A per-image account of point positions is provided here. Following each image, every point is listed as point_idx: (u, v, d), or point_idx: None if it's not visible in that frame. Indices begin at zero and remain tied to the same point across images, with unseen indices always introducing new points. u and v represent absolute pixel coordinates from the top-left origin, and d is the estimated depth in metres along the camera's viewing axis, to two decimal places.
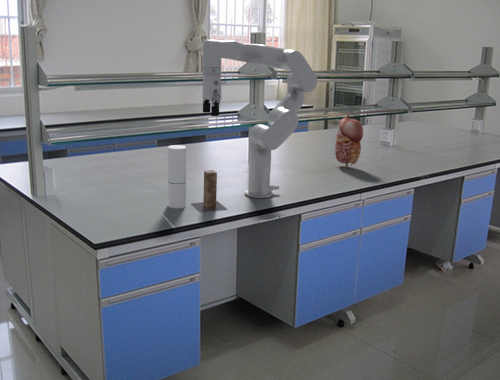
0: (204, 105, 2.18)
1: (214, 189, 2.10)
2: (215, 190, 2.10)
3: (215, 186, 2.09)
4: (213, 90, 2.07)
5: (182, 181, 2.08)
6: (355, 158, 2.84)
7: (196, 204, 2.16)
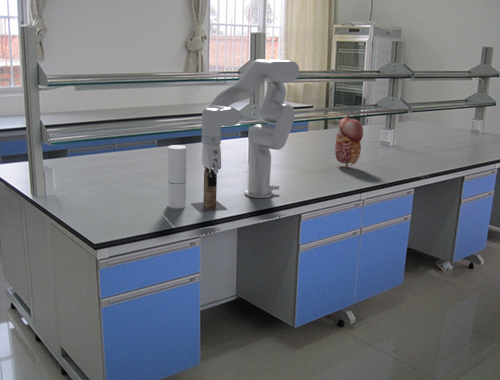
0: None
1: (214, 189, 2.10)
2: (215, 190, 2.10)
3: (215, 186, 2.09)
4: (213, 160, 2.03)
5: (182, 181, 2.08)
6: (355, 158, 2.84)
7: (196, 204, 2.16)
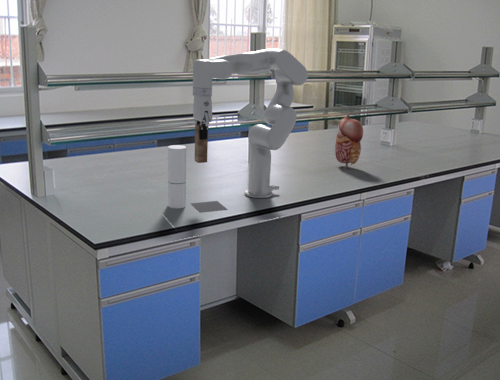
0: None
1: (205, 142, 2.09)
2: (206, 143, 2.09)
3: (206, 139, 2.09)
4: (203, 111, 2.02)
5: (182, 181, 2.08)
6: (355, 158, 2.84)
7: (196, 204, 2.16)
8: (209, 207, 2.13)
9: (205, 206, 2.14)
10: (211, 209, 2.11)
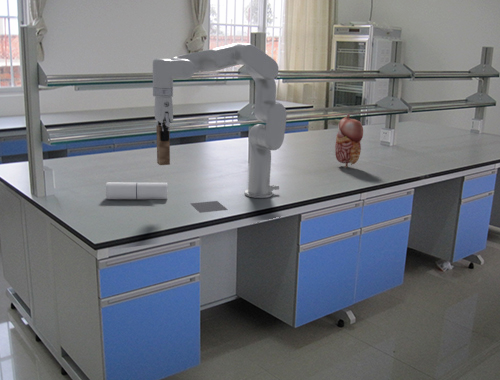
0: None
1: (167, 144, 2.02)
2: (168, 145, 2.03)
3: (168, 141, 2.02)
4: (164, 112, 1.95)
5: None
6: (355, 158, 2.84)
7: (196, 204, 2.16)
8: (209, 207, 2.13)
9: (205, 206, 2.14)
10: (211, 209, 2.11)
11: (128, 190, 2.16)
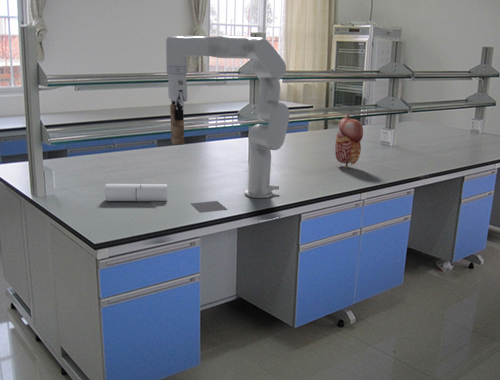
0: None
1: (181, 123, 2.01)
2: (182, 124, 2.01)
3: (182, 120, 2.00)
4: (178, 90, 1.93)
5: None
6: (355, 158, 2.84)
7: (196, 204, 2.16)
8: (209, 207, 2.13)
9: (205, 206, 2.14)
10: (211, 209, 2.11)
11: (127, 197, 2.15)
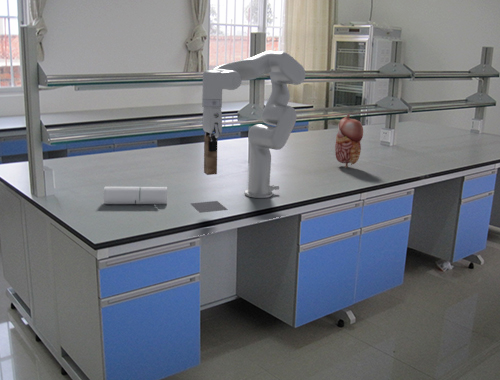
0: None
1: (215, 154, 2.05)
2: (216, 155, 2.06)
3: (216, 151, 2.05)
4: (213, 123, 1.98)
5: None
6: (355, 158, 2.84)
7: (196, 204, 2.16)
8: (209, 207, 2.13)
9: (205, 206, 2.14)
10: (211, 209, 2.11)
11: None
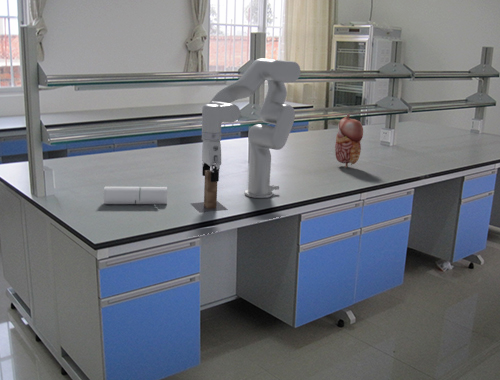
0: (204, 168, 2.12)
1: (214, 189, 2.10)
2: (216, 190, 2.10)
3: (216, 186, 2.10)
4: (213, 156, 2.02)
5: None
6: (355, 158, 2.84)
7: (196, 204, 2.16)
8: None
9: None
10: (211, 209, 2.11)
11: None
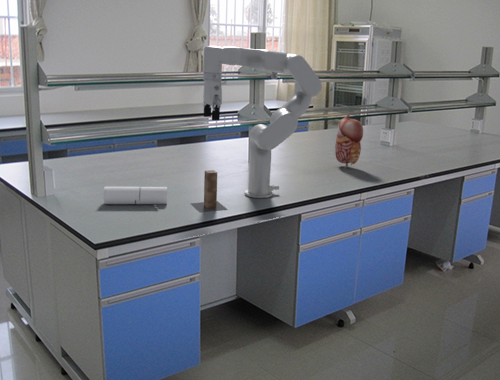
0: (205, 109, 2.23)
1: (214, 189, 2.10)
2: (215, 190, 2.10)
3: (215, 186, 2.10)
4: (214, 95, 2.12)
5: None
6: (355, 158, 2.84)
7: (196, 204, 2.16)
8: None
9: None
10: (211, 209, 2.11)
11: None
